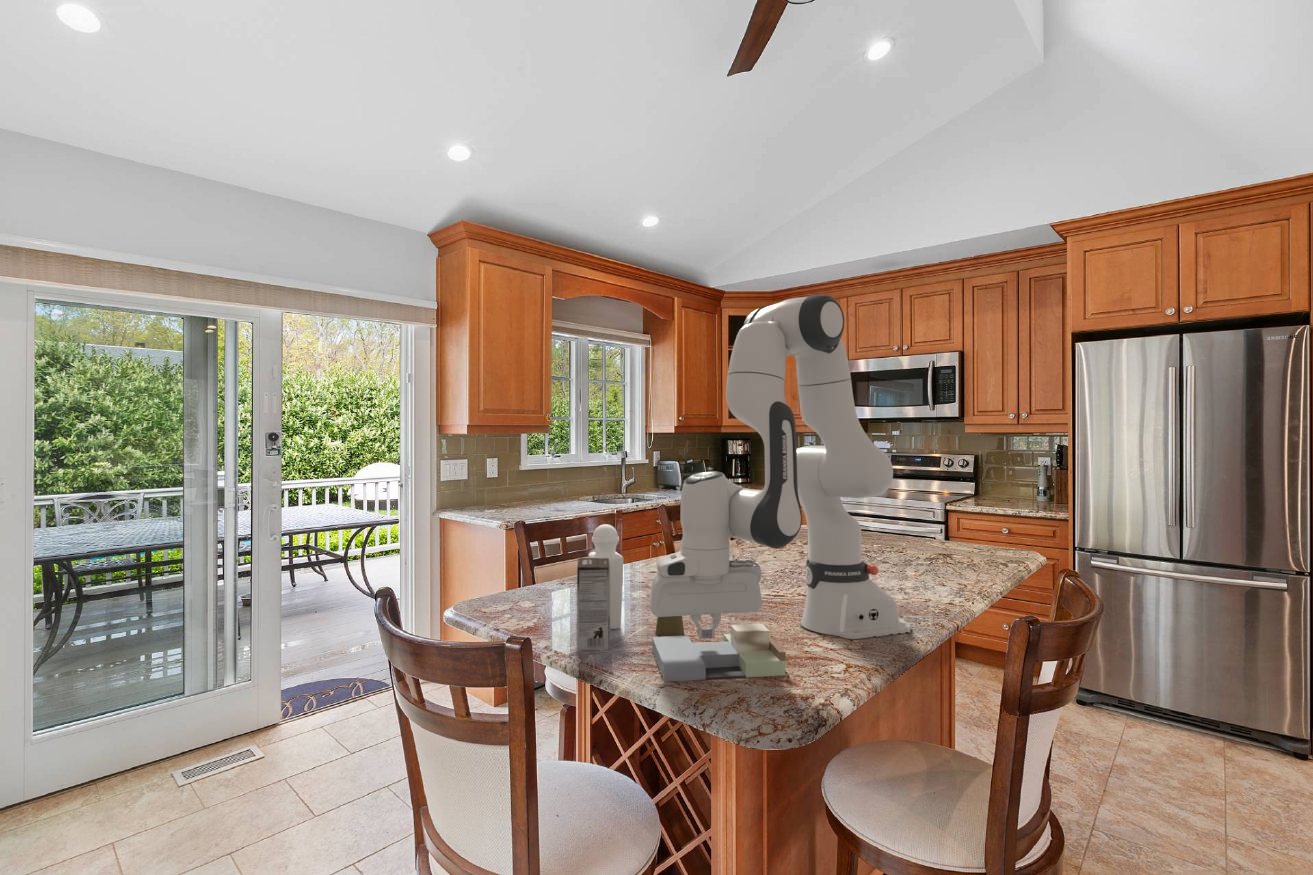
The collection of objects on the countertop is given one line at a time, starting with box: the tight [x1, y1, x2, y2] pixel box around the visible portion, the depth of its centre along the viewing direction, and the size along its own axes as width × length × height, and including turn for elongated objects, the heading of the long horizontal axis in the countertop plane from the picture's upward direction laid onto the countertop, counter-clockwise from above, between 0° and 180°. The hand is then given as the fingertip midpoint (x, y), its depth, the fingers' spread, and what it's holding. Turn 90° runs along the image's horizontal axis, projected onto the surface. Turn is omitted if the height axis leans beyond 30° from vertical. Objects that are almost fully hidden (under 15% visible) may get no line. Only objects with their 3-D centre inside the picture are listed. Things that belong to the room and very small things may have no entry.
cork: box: [655, 616, 685, 637], centre depth 133 cm, size 6×6×11 cm
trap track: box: [651, 633, 787, 682], centre depth 116 cm, size 21×16×4 cm
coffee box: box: [576, 557, 611, 651], centre depth 127 cm, size 9×6×16 cm
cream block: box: [730, 623, 770, 652], centre depth 117 cm, size 6×4×4 cm
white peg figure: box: [587, 523, 624, 630], centre depth 139 cm, size 6×6×22 cm
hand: (706, 637), depth 116 cm, fingers closed
